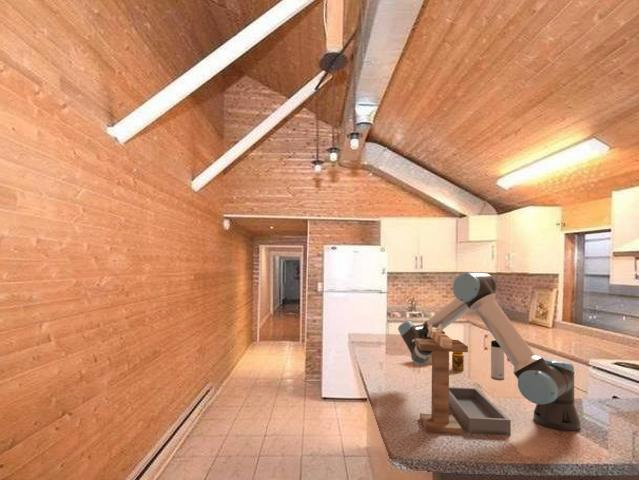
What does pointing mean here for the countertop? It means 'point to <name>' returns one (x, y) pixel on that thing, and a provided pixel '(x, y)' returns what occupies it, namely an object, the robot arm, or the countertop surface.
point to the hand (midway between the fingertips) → (435, 327)
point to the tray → (478, 412)
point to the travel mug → (497, 361)
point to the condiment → (457, 362)
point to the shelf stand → (440, 387)
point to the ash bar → (441, 338)
